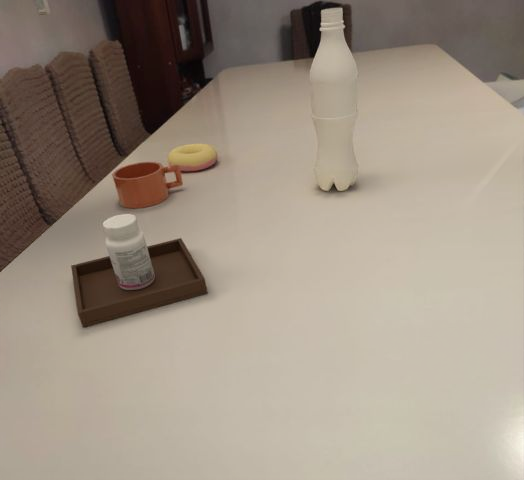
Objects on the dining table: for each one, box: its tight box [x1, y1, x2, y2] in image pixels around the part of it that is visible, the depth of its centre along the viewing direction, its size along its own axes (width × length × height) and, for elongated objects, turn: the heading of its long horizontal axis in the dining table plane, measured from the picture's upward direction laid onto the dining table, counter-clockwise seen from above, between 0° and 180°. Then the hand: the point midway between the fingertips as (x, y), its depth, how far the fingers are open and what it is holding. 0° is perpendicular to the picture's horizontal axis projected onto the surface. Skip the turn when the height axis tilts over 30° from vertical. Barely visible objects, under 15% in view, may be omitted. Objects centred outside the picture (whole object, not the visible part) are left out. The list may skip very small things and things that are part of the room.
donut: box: [167, 143, 218, 172], centre depth 105 cm, size 10×5×9 cm
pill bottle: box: [102, 213, 155, 290], centre depth 66 cm, size 5×5×8 cm
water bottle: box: [308, 7, 359, 192], centre depth 81 cm, size 7×7×25 cm
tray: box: [71, 237, 208, 328], centre depth 68 cm, size 15×13×2 cm
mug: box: [111, 161, 184, 209], centre depth 93 cm, size 12×9×5 cm
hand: (6, 20), depth 67 cm, fingers open, 8 cm apart
